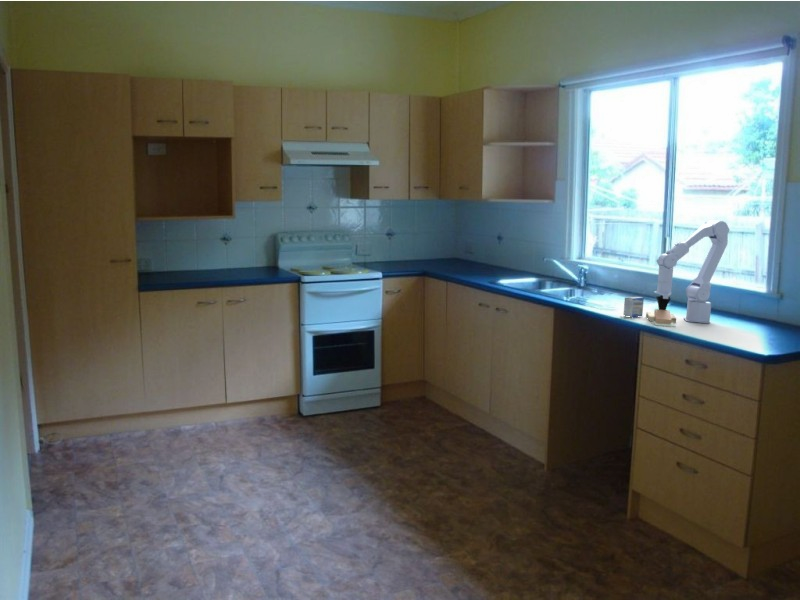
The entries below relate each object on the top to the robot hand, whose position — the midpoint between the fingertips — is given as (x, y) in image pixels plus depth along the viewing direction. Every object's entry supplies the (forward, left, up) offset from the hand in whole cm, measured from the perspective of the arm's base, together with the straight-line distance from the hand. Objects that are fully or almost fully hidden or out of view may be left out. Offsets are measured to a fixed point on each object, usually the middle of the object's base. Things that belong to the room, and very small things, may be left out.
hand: (661, 313), depth 315 cm
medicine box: (+11, -5, -3) cm, 13 cm away
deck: (0, -2, -3) cm, 4 cm away
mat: (0, +9, -3) cm, 9 cm away
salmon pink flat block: (0, +5, -2) cm, 5 cm away
